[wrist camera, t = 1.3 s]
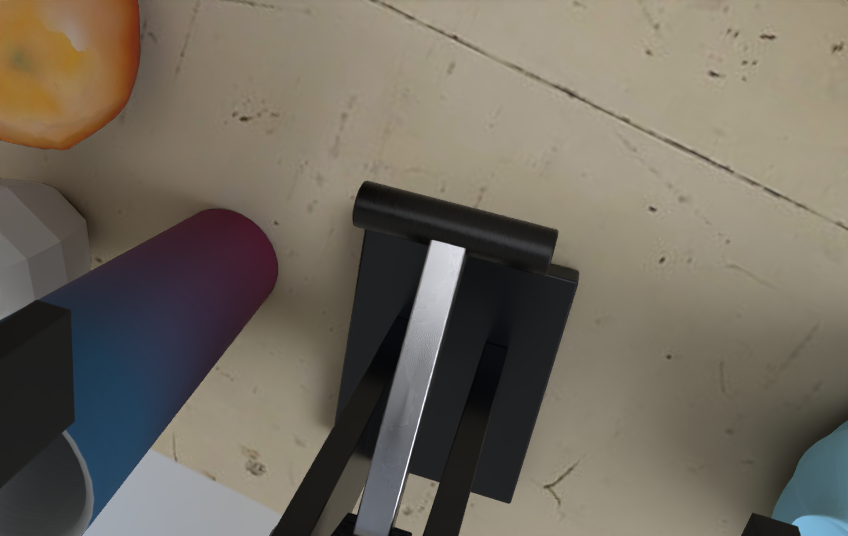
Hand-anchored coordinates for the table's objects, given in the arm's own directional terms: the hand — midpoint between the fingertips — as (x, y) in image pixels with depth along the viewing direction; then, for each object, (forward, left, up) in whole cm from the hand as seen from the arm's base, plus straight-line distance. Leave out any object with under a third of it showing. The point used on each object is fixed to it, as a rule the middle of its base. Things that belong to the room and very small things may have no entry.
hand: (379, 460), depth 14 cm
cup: (+7, -12, -18) cm, 23 cm away
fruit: (-2, -19, -18) cm, 26 cm away
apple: (+8, -21, -18) cm, 29 cm away
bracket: (+9, -1, -18) cm, 20 cm away
